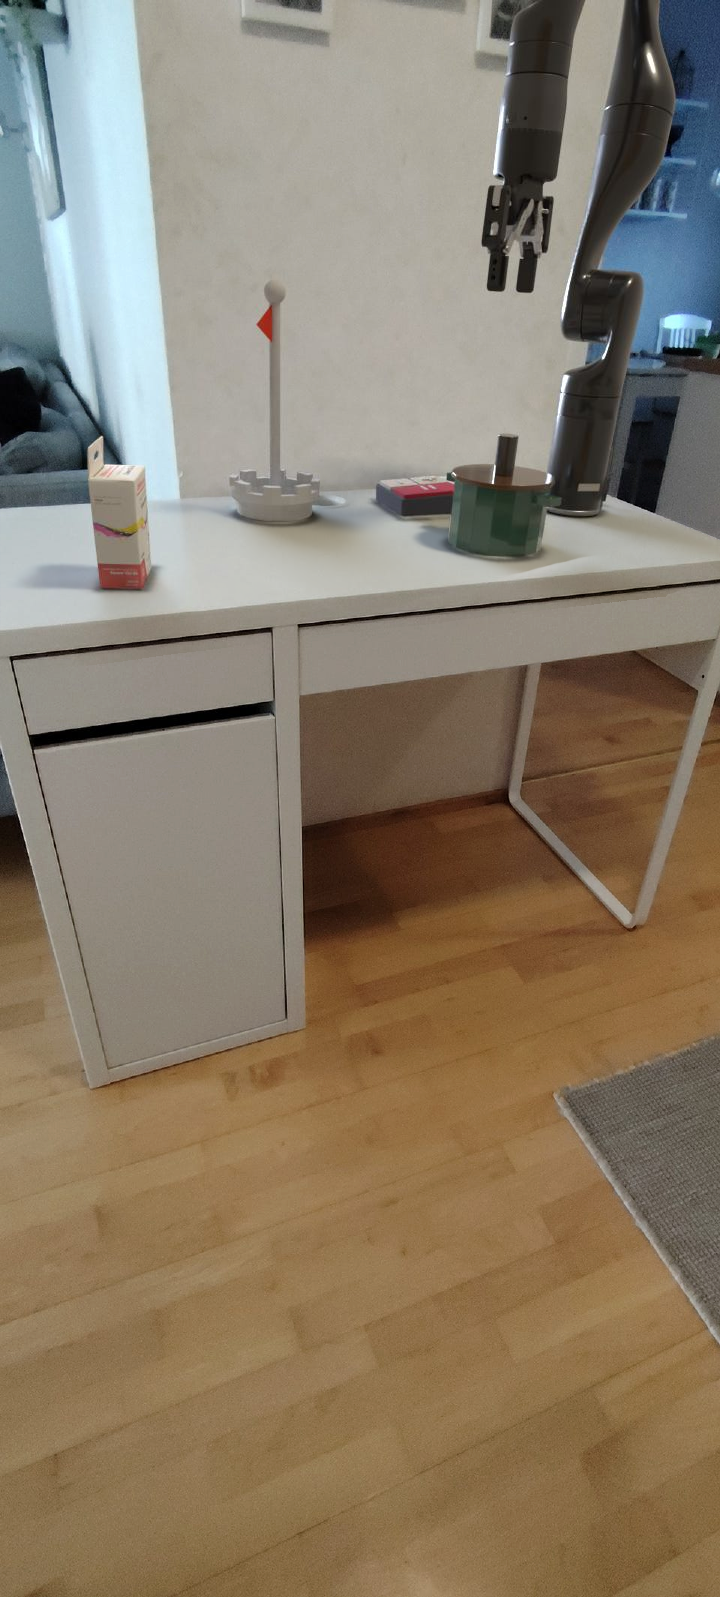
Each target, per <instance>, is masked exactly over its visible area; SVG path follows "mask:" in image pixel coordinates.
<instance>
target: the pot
mask: <svg viewBox="0 0 720 1597" xmlns="http://www.w3.org/2000/svg"><path fill="white" fill-rule="evenodd" d="M451 474H452V471H450V472H446V476H447V477H446V480H448V481H451V482H454V485H453V495H452V505H451V514H449V523H448V524H449V525H448V533H447V534H448V535H447V540H448V544H450V545H451V546H453V547H454V548H455V549H456V548H457V549H458V550H461V551H465V552H468V553H472V554H478V555H482V556H490V557H505V558H509V557H510V558H511V557H525V556H530V555H533V554H537V553H538V552H539V551H541V549H542V544H543V537H544V531H545V525H546V519H547V514H548V511H547V507H554V506H559V505H560V504H561V497H558V496H554V495H550V489H551V487H550V488H546V489H541V490H529V491H516V490H500V489H491V488H484V487H478V486H473V485H469V484H466V483H462V482H460V481H457V480H455V479H454V478H453V477H452V475H451Z"/></svg>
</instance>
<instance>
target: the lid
mask: <svg viewBox="0 0 720 1597" xmlns="http://www.w3.org/2000/svg"><path fill="white" fill-rule="evenodd" d="M519 437H520V436H519V435H518V434H513V433H498V436H497V442H496V450H495V458H494V463H474V464H473V463H472V464H464V465H459V466H457V467H454V468H452V469H451V472H452V474H451V475H452V477H453V478H454V479H455V480H457V481H460V482H462V483H466V484H469V485H473V486H478V487H484V488H491V489H500V490H516V491H529V490H541V489H546V488H550V487H552V486H553V485H554V484H555V478H554V477H553V476H552V475H550V474H548V473H547V472H545V471H542V470H540V469H539V470H538V469H535V468H531V467H530V468H529V467H525V466H518V465H516V458H517V451H518V445H519Z"/></svg>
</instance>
